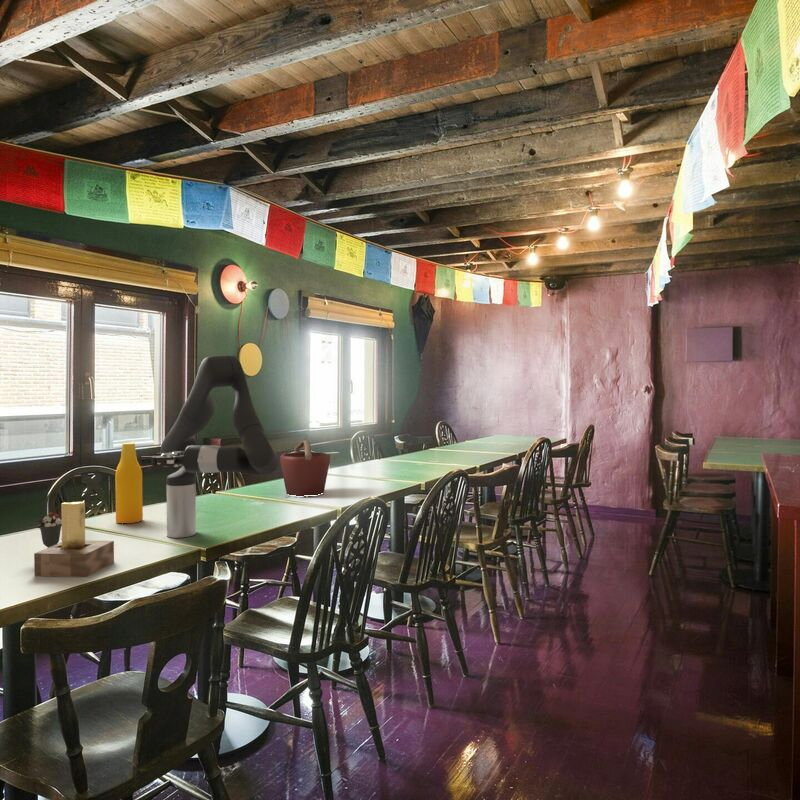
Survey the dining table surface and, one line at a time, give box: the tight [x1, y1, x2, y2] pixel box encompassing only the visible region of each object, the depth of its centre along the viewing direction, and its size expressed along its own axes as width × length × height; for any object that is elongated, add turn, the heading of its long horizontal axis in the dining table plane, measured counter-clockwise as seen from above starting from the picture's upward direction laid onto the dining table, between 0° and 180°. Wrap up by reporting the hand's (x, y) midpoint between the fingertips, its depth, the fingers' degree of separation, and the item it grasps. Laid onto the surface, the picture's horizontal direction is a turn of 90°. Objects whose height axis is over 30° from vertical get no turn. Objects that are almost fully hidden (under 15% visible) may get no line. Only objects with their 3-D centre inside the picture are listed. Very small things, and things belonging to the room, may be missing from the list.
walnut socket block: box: [33, 539, 115, 578], centre depth 168 cm, size 14×14×6 cm
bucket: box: [279, 439, 331, 496], centre depth 284 cm, size 24×22×25 cm
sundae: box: [36, 506, 62, 548], centre depth 177 cm, size 7×7×15 cm
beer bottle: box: [114, 442, 144, 525], centre depth 226 cm, size 9×9×29 cm
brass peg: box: [60, 501, 86, 550], centre depth 168 cm, size 4×6×18 cm
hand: (147, 458), depth 169 cm, fingers open, 8 cm apart
